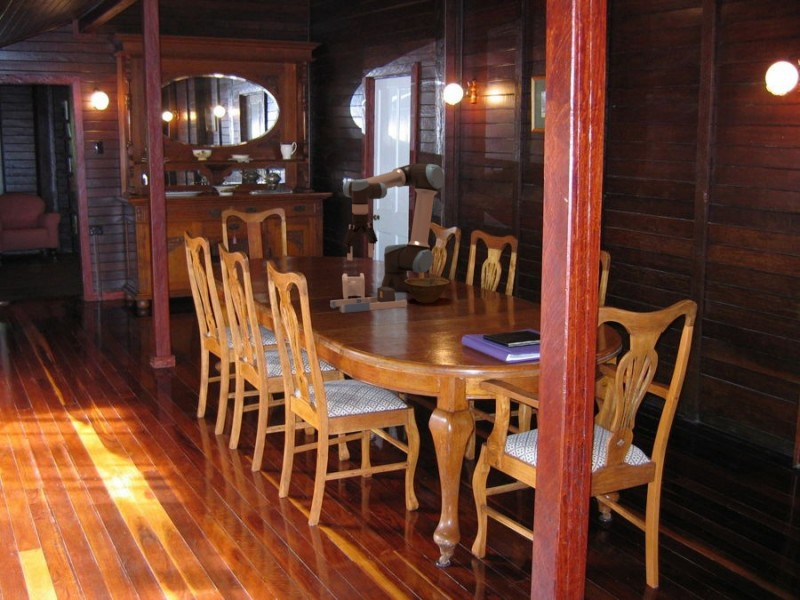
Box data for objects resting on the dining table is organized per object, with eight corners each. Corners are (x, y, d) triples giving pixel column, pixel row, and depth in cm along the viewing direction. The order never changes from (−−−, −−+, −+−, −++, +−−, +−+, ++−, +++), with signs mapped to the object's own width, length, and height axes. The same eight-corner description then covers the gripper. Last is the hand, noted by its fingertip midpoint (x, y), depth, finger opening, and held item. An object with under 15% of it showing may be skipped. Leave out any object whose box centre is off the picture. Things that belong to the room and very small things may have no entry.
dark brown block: (387, 303, 437) (387, 286, 436) (395, 306, 429) (395, 289, 428) (377, 304, 435) (377, 287, 434) (385, 307, 427) (385, 290, 426)
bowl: (456, 299, 448) (457, 278, 446) (438, 307, 428) (439, 286, 426) (415, 295, 457) (415, 275, 455) (396, 303, 437) (396, 282, 435)
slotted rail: (392, 301, 442) (392, 293, 441) (407, 307, 428) (407, 299, 427) (330, 306, 428) (330, 298, 428) (343, 313, 414) (343, 304, 414)
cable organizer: (364, 301, 443) (364, 277, 441) (342, 301, 442) (342, 277, 440) (363, 295, 457) (363, 272, 455) (342, 295, 457) (342, 272, 454)
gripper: (373, 211, 438) (373, 255, 442) (334, 214, 421) (335, 260, 425) (385, 212, 433) (385, 256, 437) (346, 215, 416) (346, 262, 420)
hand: (360, 258), depth 431 cm, fingers open, 13 cm apart
